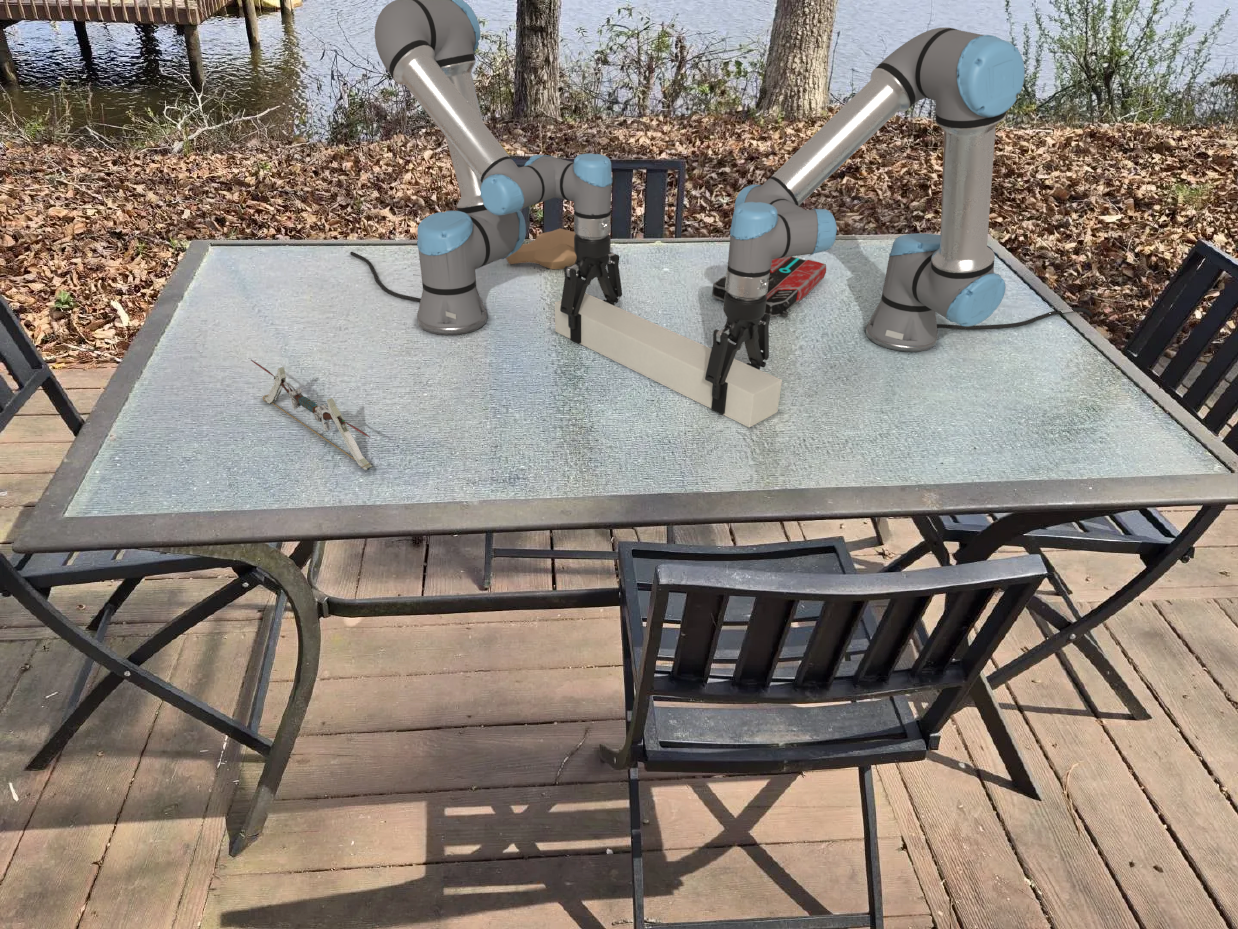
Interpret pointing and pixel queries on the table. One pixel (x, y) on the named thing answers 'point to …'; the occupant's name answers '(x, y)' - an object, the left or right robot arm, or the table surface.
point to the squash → (548, 250)
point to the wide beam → (671, 359)
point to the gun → (784, 283)
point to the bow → (316, 413)
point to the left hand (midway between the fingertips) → (591, 334)
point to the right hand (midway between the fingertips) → (733, 403)
